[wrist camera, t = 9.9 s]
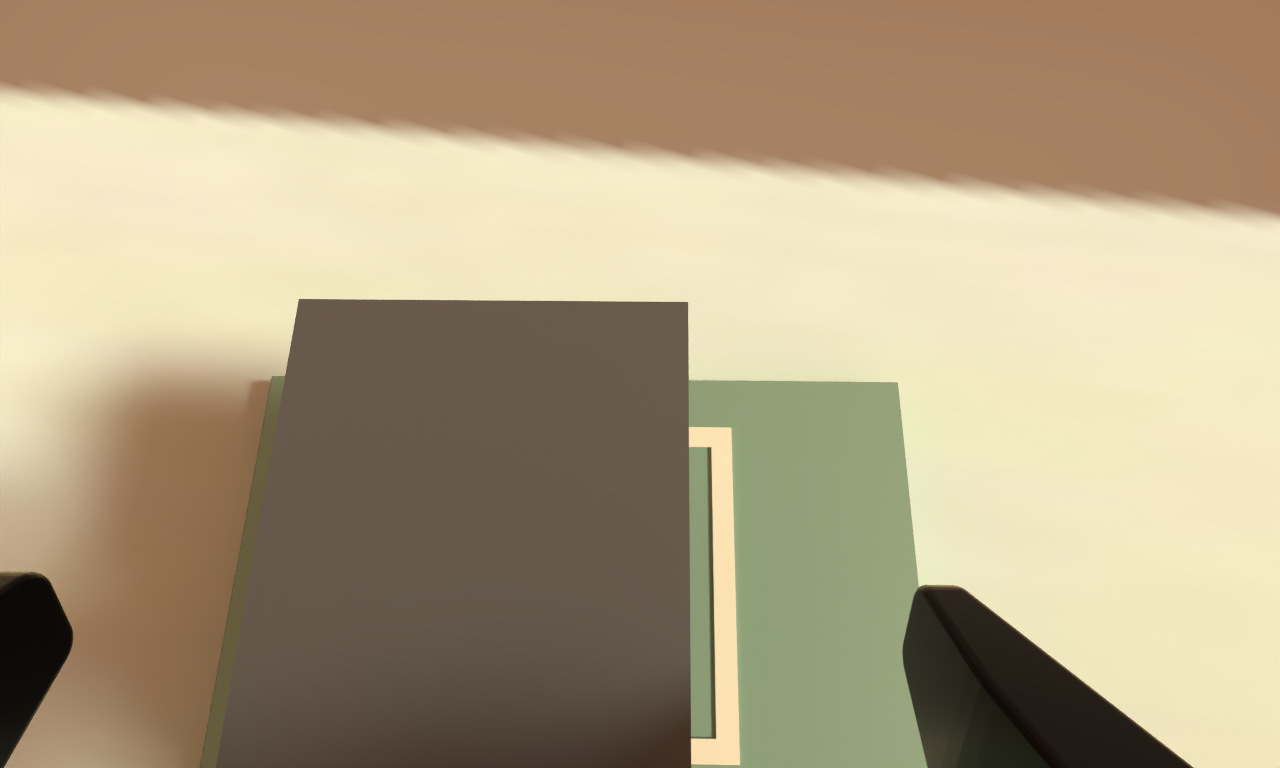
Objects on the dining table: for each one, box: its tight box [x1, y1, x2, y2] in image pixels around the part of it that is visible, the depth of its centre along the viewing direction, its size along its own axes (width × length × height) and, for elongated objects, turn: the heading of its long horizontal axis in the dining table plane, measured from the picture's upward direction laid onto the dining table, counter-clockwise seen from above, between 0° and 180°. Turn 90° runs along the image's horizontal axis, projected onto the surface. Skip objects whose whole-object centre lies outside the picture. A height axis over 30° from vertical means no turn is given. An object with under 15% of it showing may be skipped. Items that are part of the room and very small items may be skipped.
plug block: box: [216, 299, 691, 768], centre depth 12 cm, size 5×4×10 cm
